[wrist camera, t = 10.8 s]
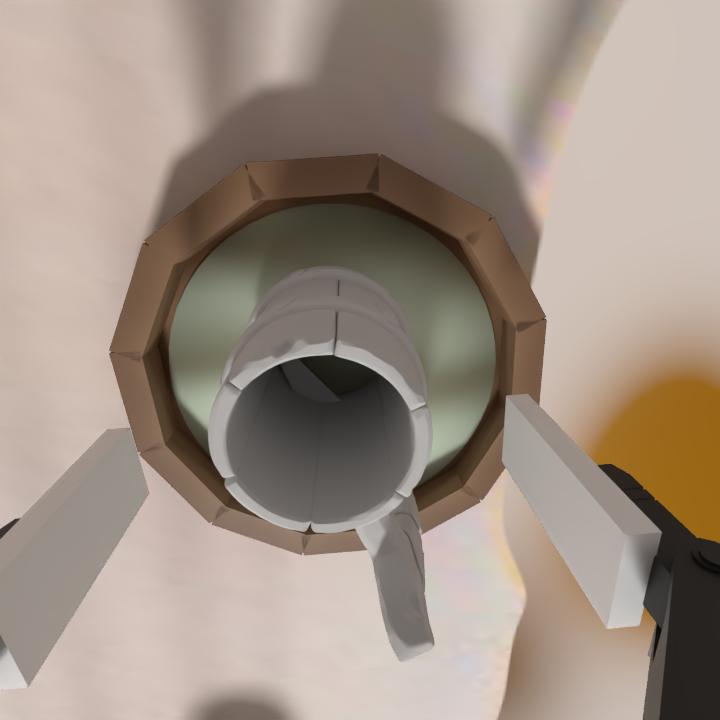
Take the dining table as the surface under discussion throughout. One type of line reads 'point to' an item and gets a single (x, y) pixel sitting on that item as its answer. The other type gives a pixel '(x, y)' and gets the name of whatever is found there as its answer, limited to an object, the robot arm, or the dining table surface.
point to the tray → (429, 337)
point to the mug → (333, 430)
